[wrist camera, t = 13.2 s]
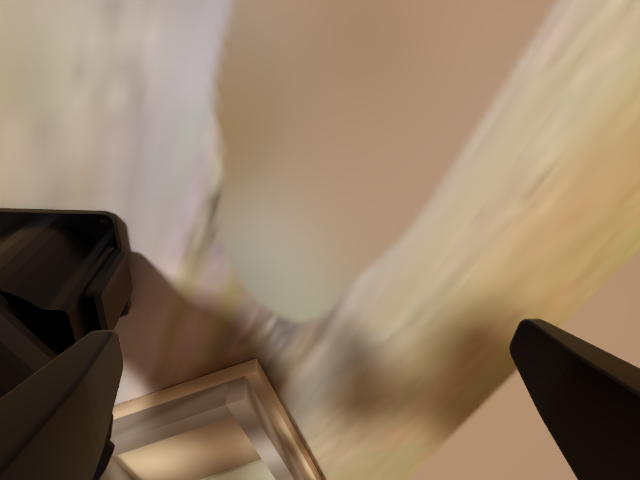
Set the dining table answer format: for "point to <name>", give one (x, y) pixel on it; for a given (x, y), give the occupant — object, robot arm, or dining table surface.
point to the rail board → (209, 432)
